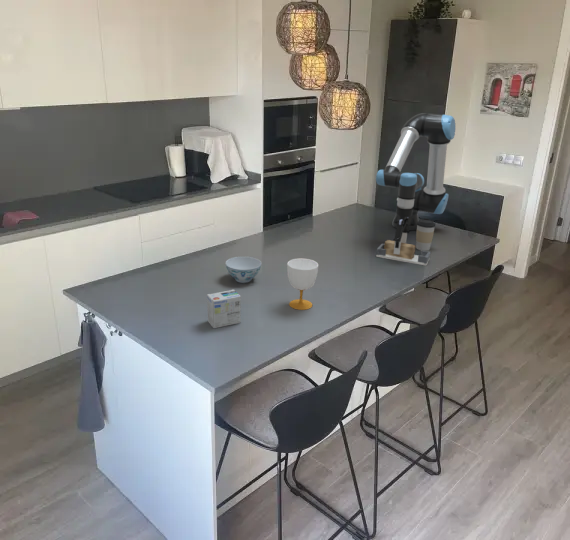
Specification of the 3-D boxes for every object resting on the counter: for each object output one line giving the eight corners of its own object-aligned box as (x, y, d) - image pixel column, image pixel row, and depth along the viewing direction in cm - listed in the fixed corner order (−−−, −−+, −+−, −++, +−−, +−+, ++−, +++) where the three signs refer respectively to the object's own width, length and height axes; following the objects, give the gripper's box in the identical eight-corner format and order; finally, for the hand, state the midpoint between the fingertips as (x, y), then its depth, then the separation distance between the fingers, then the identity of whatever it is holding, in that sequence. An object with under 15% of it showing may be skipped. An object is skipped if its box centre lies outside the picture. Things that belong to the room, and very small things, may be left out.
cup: (291, 296, 215) (293, 256, 209) (319, 301, 211) (322, 261, 205) (281, 307, 205) (282, 266, 198) (310, 314, 201) (312, 271, 195)
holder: (380, 251, 268) (381, 243, 266) (429, 259, 259) (430, 251, 258) (376, 256, 260) (377, 248, 259) (426, 265, 251) (427, 257, 250)
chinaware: (221, 274, 233) (221, 258, 230) (254, 271, 238) (254, 254, 235) (231, 288, 220) (231, 271, 217) (265, 284, 225) (266, 267, 222)
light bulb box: (234, 315, 198) (234, 288, 194) (241, 323, 193) (241, 295, 188) (206, 320, 193) (206, 293, 189) (213, 329, 188) (213, 301, 184)
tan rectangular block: (383, 253, 262) (384, 242, 259) (386, 251, 265) (387, 239, 263) (411, 259, 255) (413, 247, 253) (414, 257, 259) (415, 245, 256)
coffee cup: (432, 252, 269) (436, 223, 263) (413, 250, 270) (417, 221, 265) (431, 246, 277) (435, 218, 271) (413, 244, 279) (417, 216, 273)
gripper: (402, 199, 263) (397, 240, 271) (390, 212, 242) (385, 256, 250) (418, 201, 260) (412, 243, 268) (407, 214, 239) (401, 259, 247)
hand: (399, 249), depth 259 cm, fingers open, 13 cm apart
